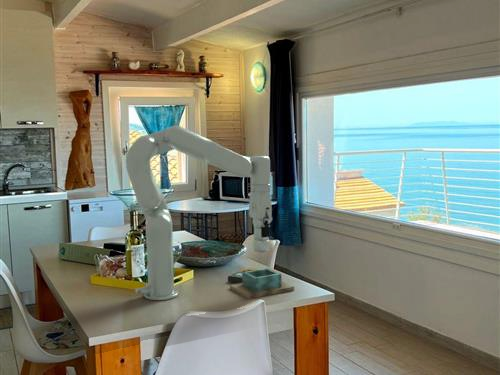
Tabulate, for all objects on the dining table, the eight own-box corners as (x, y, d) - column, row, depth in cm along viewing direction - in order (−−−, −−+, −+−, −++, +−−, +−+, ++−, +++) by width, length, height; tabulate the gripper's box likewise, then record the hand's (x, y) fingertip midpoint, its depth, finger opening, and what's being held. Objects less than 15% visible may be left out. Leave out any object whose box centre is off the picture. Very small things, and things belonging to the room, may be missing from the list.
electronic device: (263, 277, 232) (263, 269, 232) (244, 286, 219) (244, 277, 218) (246, 274, 236) (246, 266, 236) (226, 283, 223) (226, 274, 223)
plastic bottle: (264, 254, 206) (264, 201, 203) (249, 252, 209) (248, 200, 207) (273, 251, 211) (272, 199, 209) (258, 249, 215) (257, 198, 212)
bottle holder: (248, 298, 200) (248, 281, 200) (230, 288, 214) (229, 272, 213) (294, 290, 210) (294, 273, 209) (274, 281, 223) (273, 265, 222)
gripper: (241, 187, 213) (242, 233, 215) (263, 191, 198) (263, 240, 200) (258, 186, 217) (258, 231, 219) (280, 190, 202) (281, 238, 204)
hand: (261, 235), depth 209 cm, fingers closed on plastic bottle, 5 cm apart
